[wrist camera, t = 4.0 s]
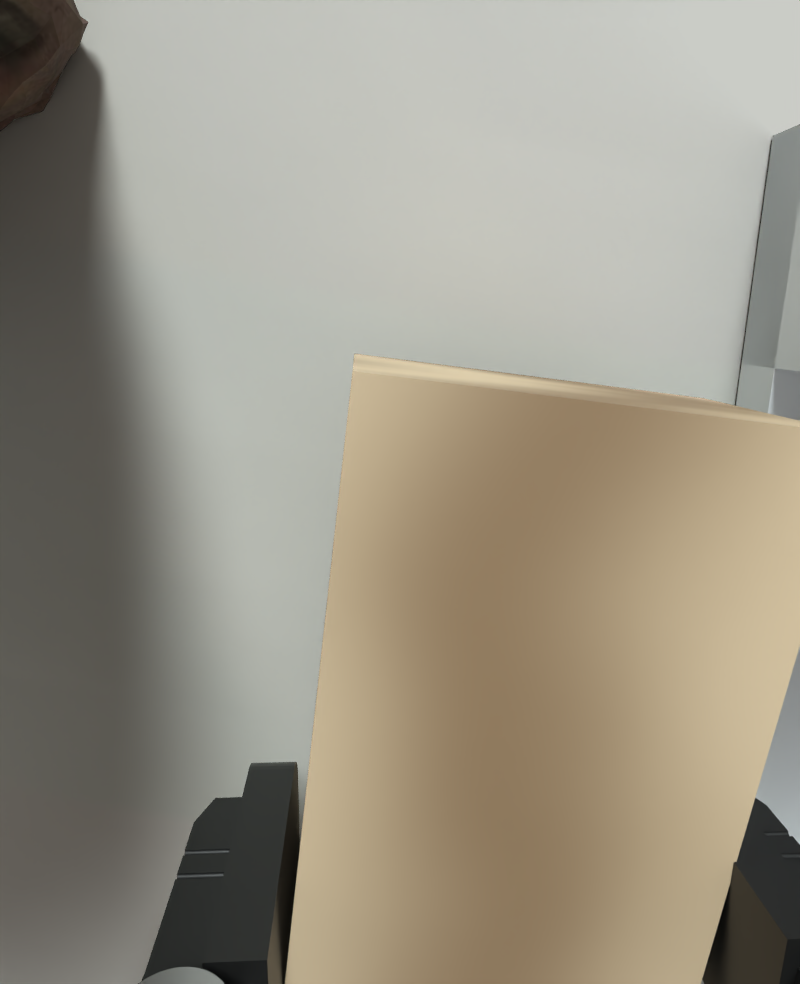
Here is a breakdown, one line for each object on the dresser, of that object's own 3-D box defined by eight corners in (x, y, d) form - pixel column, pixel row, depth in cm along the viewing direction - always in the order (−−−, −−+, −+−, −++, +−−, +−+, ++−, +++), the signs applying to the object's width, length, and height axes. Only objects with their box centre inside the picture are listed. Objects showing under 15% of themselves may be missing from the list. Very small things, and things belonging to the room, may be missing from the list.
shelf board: (702, 397, 11) (861, 435, 7) (544, 1075, 14) (604, 1316, 11) (354, 353, 10) (353, 370, 7) (275, 1065, 14) (248, 1314, 10)
